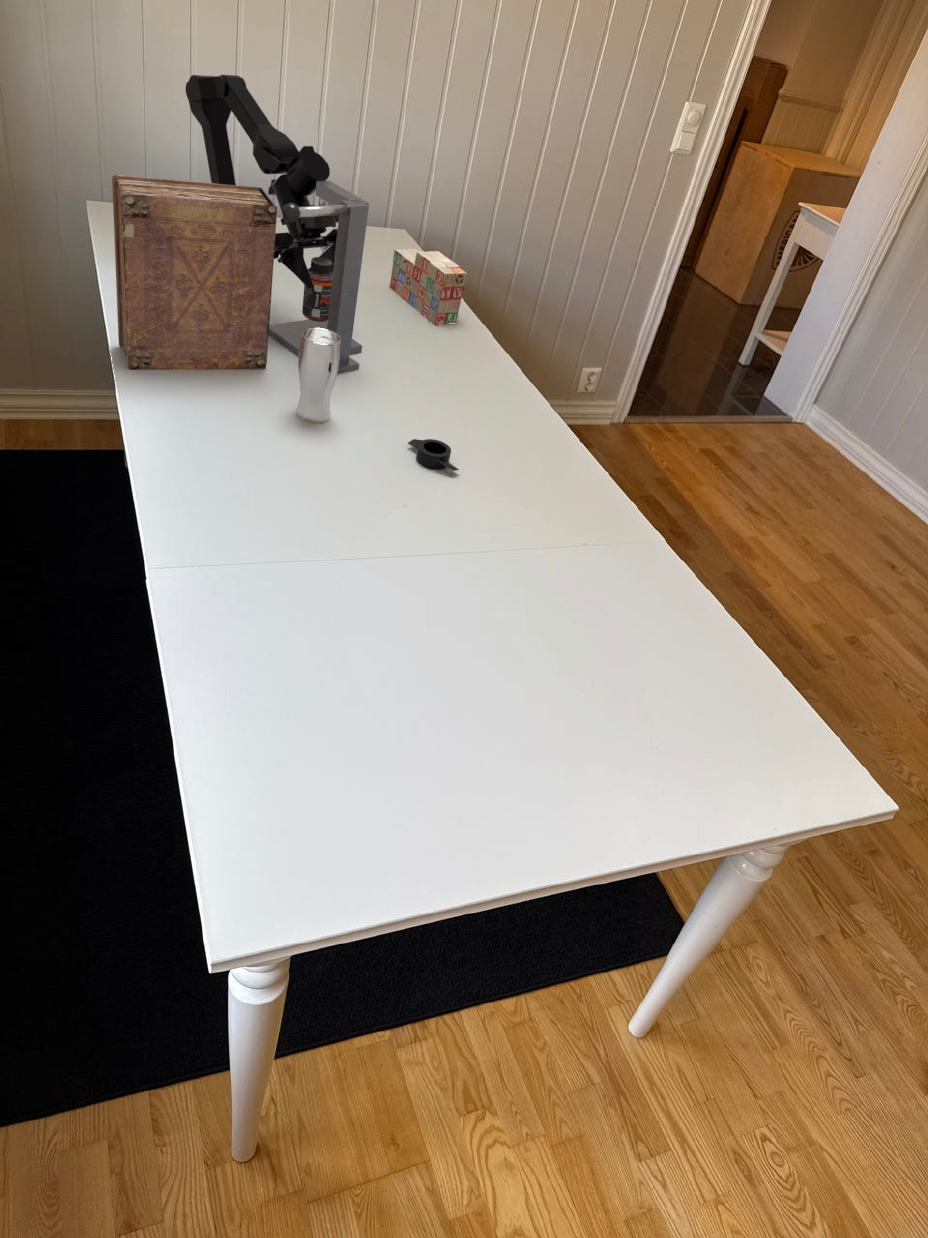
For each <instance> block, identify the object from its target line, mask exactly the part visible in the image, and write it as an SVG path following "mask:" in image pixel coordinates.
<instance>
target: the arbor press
mask: <svg viewBox="0 0 928 1238" xmlns="http://www.w3.org/2000/svg"><path fill="white" fill-rule="evenodd" d="M314 194H315V196H317V198H319V199H318V200H319V201H318V205H315V206H310V207H298V206H297V205H296V204H294V203H288V204H286V205H285V206H284V207H283V210H282V211H281V214H282V218H283V217H284V218H285V220H286V221H288V222H292V223H293V222H296V221H297V220H298V219H299V218H300V217H316V216H331V215H339V222H337V223H338V224H337V229H338V231H337V240H336V249H335V259H334V268H333V277H332V286H331V295H330V305H329V314H328V321H324V322H316V321H312V320H310V319H308V318H306V319H302V320H296V321H289V322H281V323H276V324H269V335H268V337H270V338H271V339H273V340H274V341H275V342H277V343H279V344H280V345H282V346H283V347H284V348H285V349H287V350H288V351H289V352H291V353H292V354H293V355H295V356H296V357H297V358H299V349H300V343H301V338H302V332H303V331H304V330H305V329H308V328H324V329H328V330H331V331H333V332H335V333H337V334H338V335H339V336H340V338H341V341H340V360H339V367H338V372H337V375H338V374H343V373H344V374H345V373H347V372H348V373H349V372H352V371H353V372H354V371H358V370H360V363H359V362H358V361H356V360H354V358H352V357H350V356H351V355H355V354H361V353H362V351H363V345H362V344H360V343H359V342H358V341H356V340H355V339H353V332H354V325H355V317H356V310H357V302H358V293H359V288H360V287H359V286H360V279H361V270H362V264H363V255H364V249H365V248H364V247H365V240H366V232H367V231H366V230H367V223H368V216H369V209H370V205H369V204H370V203H369V202H368V201H367V200H365V199H362V198H361V197H359V196H358V195H356V194H354V193H353V192H350V191H348V190H347V189H345V188H343V187H342V186H340V185H338V184H336V183H334V182H333V181H331V180H326V181H317V183H316V191H315V193H314Z"/></svg>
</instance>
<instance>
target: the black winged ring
mask: <svg viewBox="0 0 928 1238" xmlns="http://www.w3.org/2000/svg"><path fill="white" fill-rule="evenodd" d="M407 445H409V446H411V447H413V448H415V450H417V452H416V456H415V460H416V462H417V463H418V464H419V465H420V466H422V467H423V468H426V469H428V470H433V471H434V470H435V471H439V470H444V469H448V470H450V471H453V472H455V471H459V470H460V468H457V467H456V466H454V464H452V463H451V462H450V459H451V454H452V448H451V447H450V445H448V444H447V443H445V442H443V441H441V440H438V439H434V438H433V439H429V438H428V439H417V438H413V439H411V440H409V441H408V442H407Z"/></svg>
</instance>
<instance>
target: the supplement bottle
mask: <svg viewBox="0 0 928 1238" xmlns="http://www.w3.org/2000/svg"><path fill="white" fill-rule="evenodd" d="M307 269H308V272H309V275H310V277H311V281H312V285H313V287H312V288H311V289H308V288H307V287H306V286H305V284H304V283H303V285H304V286H303V295H302V296H303V297H302V315H303V316H304V317H305V318H306V319H310V320H312V321H316V322H324V321H327V322H328V314H329V305H330V295H331V286H332V277H333V272H332V270H331V269H332V262H331V261H330V260H329V259H326V258H322V257H319V256H315V257H312V258H311V260H310V267H309V268H307Z"/></svg>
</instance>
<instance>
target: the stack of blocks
mask: <svg viewBox="0 0 928 1238" xmlns="http://www.w3.org/2000/svg"><path fill="white" fill-rule="evenodd" d="M392 262H393V263H392V269H391V275H390V276H391V277H390V280H389V281H390V282H389V283H390V284H389V288H390V289H391V290H393V291H394V292H395V293H396V294H397V295H398V296H399V297H400V296H401V297H400V298H401V299H403V300H404V301H405V302H406V303H407V304H408V305H410V306H411V307H412V308H413V309H415V310H416V311H417V310H418V311H417V312H418V313H419V312H420V315H422V316H423V317H424V316H425V317H426V318H427V319H428V320H427V319H426V318H425V317H424V318H425V319H426V320H427V321H429V323H431V322H432V323H433V324H434V326H440V325H439V324H448V325H450V324H449V323H456V324H457V321H458V316H459V311H460V306H461V302H462V299H463V295H464V294H463V293H464V290H465V284H466V279H467V275H468V273H467V272H466V271H465V270H464V269H462V268H461V267H460V265H458V264H457V263H456V262H454V261H453V260H451V259H449V258H448V257H447V256H446V255H444V254H443V253H442V252H440V251H439V250H436V251H435V250H433V251H432V250H431V251H419V250H418V249H417V248H414V249H413V248H405V249H404V248H403V249H394V254H393V258H392ZM432 323H431V324H432ZM433 324H432V325H433Z"/></svg>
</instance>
